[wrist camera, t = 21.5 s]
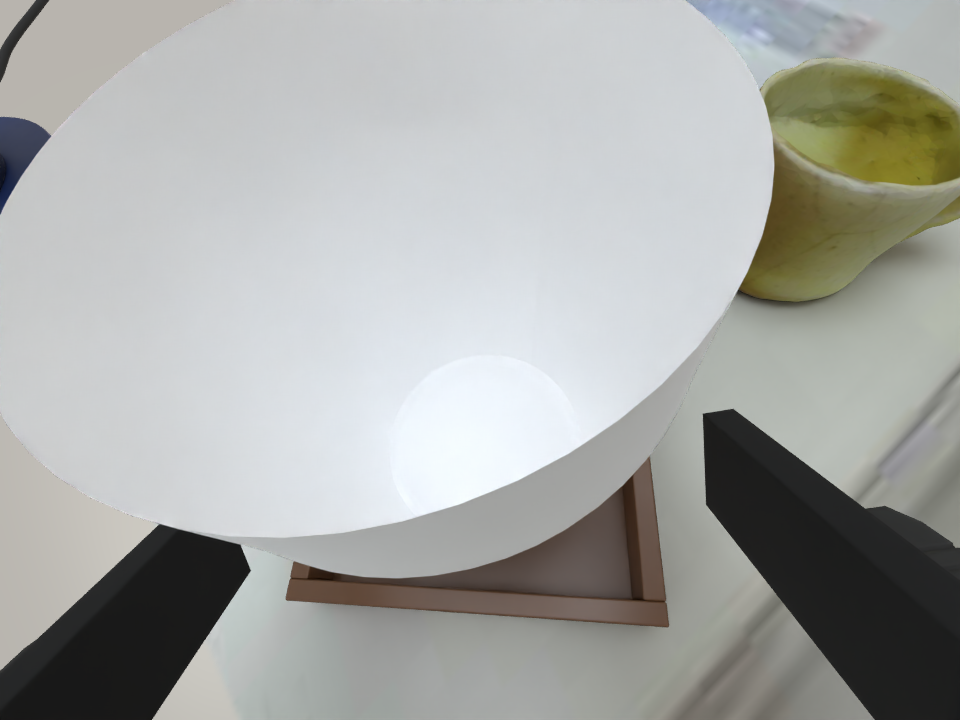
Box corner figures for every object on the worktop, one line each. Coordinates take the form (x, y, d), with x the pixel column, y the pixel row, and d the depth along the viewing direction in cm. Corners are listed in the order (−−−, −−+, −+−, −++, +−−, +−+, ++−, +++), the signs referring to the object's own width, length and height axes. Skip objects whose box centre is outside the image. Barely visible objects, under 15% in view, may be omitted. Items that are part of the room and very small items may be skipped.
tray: (371, 325, 27) (351, 296, 24) (621, 320, 25) (630, 287, 22) (318, 599, 21) (284, 600, 18) (651, 622, 19) (669, 627, 16)
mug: (661, 292, 23) (795, 80, 16) (673, 203, 30) (771, 24, 23) (902, 380, 22) (1171, 194, 15) (859, 266, 29) (1028, 99, 21)
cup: (307, 484, 23) (-174, 270, 7) (451, 296, 27) (328, -87, 12) (531, 654, 18) (457, 965, 3) (662, 397, 22) (906, -12, 7)
